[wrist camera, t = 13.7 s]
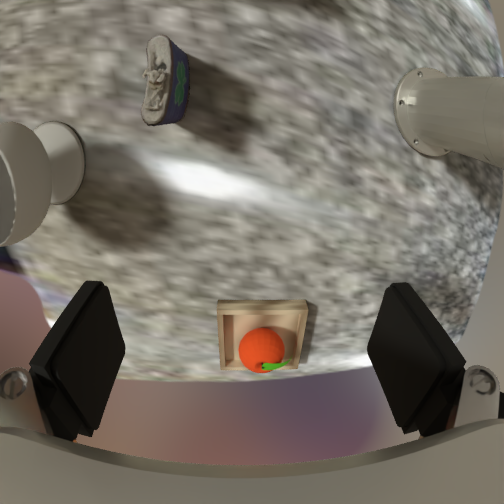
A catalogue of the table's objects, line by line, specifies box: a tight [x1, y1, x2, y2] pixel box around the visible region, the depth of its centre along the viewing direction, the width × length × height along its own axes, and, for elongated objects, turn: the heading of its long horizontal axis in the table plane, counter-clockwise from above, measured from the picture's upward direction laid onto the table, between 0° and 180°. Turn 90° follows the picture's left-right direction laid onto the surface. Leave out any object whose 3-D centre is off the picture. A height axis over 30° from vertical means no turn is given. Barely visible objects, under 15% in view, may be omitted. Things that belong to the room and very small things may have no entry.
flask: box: [141, 35, 190, 126], centre depth 25 cm, size 9×3×11 cm, turn 175°
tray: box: [217, 300, 308, 370], centre depth 45 cm, size 13×13×2 cm
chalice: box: [0, 121, 85, 247], centre depth 26 cm, size 14×14×15 cm
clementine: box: [238, 328, 292, 373], centre depth 42 cm, size 8×7×7 cm
